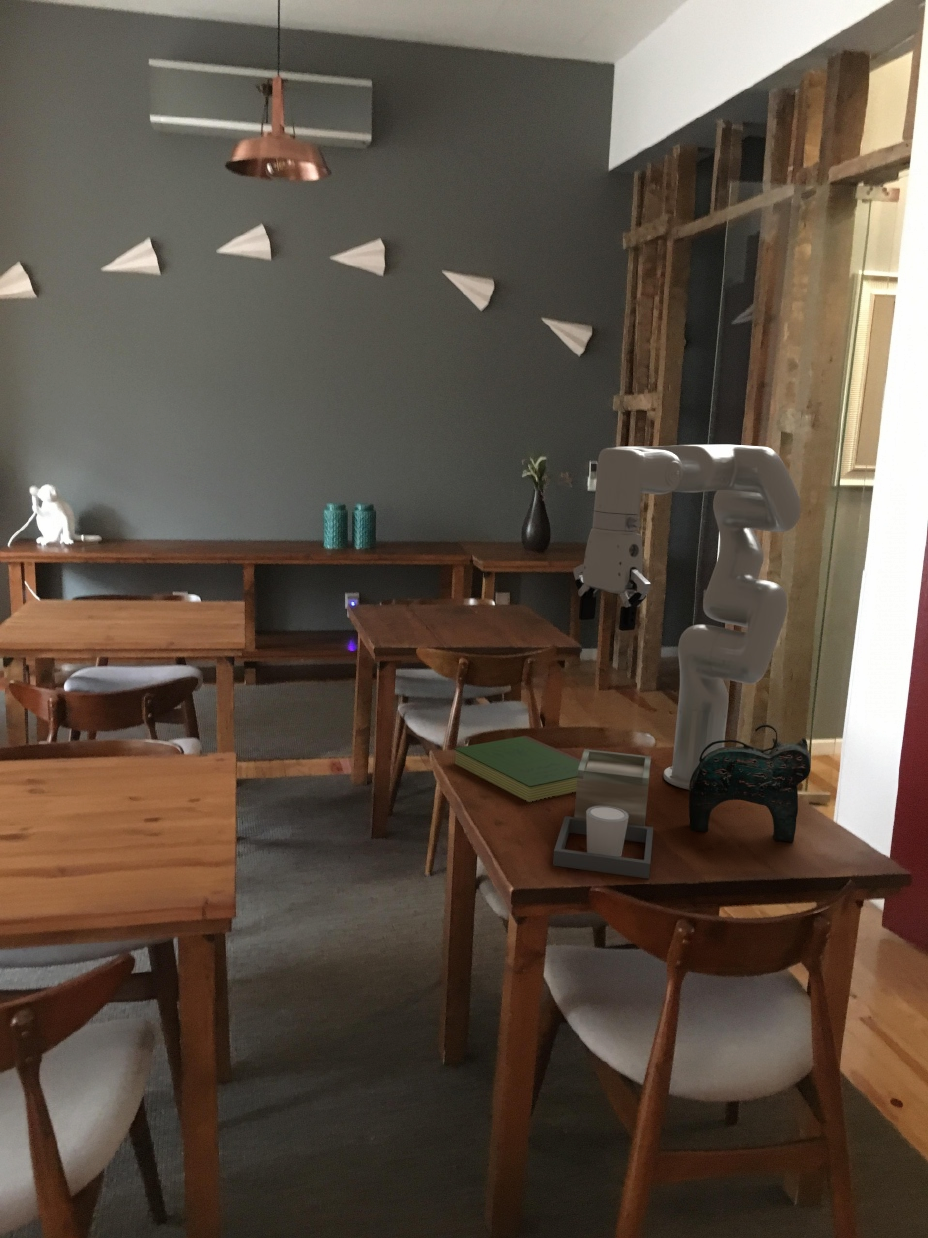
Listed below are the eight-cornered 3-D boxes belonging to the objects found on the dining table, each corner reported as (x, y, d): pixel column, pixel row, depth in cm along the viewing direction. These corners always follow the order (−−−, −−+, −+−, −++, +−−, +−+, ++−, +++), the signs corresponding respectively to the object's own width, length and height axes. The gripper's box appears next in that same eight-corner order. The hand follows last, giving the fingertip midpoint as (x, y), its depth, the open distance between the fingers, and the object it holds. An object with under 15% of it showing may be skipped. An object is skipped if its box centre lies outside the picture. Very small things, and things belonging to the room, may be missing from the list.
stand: (580, 803, 188) (584, 749, 186) (646, 811, 185) (651, 756, 183) (573, 827, 176) (577, 770, 174) (643, 836, 174) (648, 778, 172)
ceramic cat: (800, 834, 178) (814, 725, 174) (805, 849, 172) (819, 736, 168) (685, 820, 182) (696, 713, 178) (685, 834, 176) (696, 723, 172)
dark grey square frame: (563, 829, 175) (564, 816, 174) (652, 841, 172) (653, 827, 171) (552, 865, 160) (554, 850, 160) (648, 878, 157) (650, 863, 157)
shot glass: (624, 864, 162) (627, 823, 161) (581, 859, 163) (584, 818, 162) (626, 847, 169) (629, 807, 167) (584, 842, 170) (588, 802, 169)
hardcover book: (603, 788, 197) (604, 770, 197) (528, 805, 187) (529, 786, 186) (522, 751, 217) (523, 734, 216) (451, 764, 206) (451, 747, 206)
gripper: (669, 529, 164) (659, 633, 167) (596, 518, 178) (587, 614, 181) (637, 529, 160) (626, 635, 163) (564, 517, 173) (555, 616, 176)
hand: (606, 624), depth 172 cm, fingers open, 9 cm apart
